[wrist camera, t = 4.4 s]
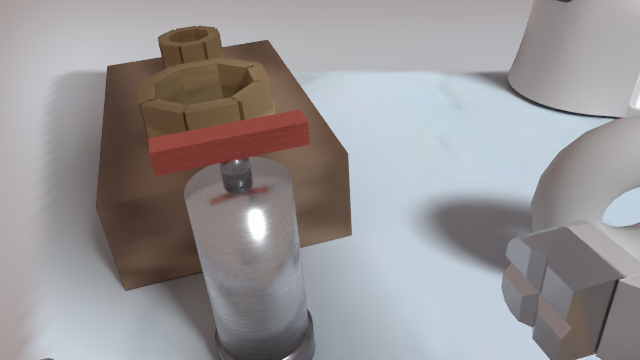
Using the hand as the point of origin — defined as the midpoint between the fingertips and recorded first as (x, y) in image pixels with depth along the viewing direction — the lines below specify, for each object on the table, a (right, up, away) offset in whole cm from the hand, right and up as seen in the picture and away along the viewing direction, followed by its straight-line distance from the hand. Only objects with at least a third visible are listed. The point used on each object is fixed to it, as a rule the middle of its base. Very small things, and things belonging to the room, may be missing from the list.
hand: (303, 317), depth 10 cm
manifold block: (-8, +3, +33) cm, 34 cm away
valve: (-2, -6, +18) cm, 19 cm away
